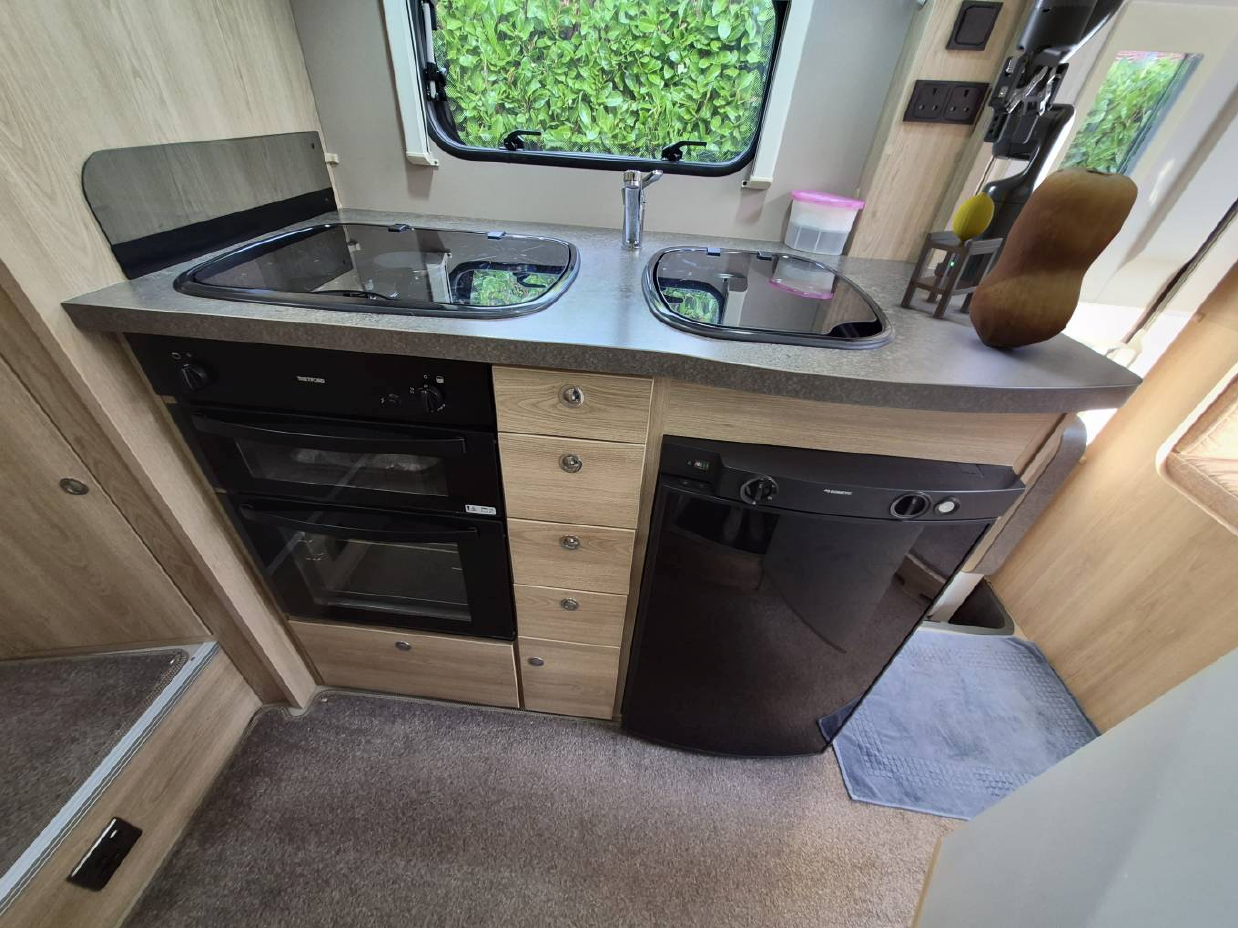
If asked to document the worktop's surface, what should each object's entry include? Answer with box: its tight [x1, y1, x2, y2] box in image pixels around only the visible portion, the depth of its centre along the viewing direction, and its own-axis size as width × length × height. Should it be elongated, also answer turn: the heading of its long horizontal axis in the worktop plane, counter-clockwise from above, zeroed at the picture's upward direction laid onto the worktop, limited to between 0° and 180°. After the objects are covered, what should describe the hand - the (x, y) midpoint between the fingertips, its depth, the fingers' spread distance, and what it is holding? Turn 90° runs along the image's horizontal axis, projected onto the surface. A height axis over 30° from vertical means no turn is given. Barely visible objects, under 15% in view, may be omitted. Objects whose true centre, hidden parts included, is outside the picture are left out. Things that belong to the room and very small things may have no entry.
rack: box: [899, 229, 1003, 320], centre depth 91 cm, size 8×10×13 cm
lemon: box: [952, 191, 994, 243], centre depth 86 cm, size 6×6×8 cm
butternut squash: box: [968, 166, 1139, 349], centre depth 73 cm, size 14×13×25 cm
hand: (1004, 143), depth 79 cm, fingers open, 8 cm apart
